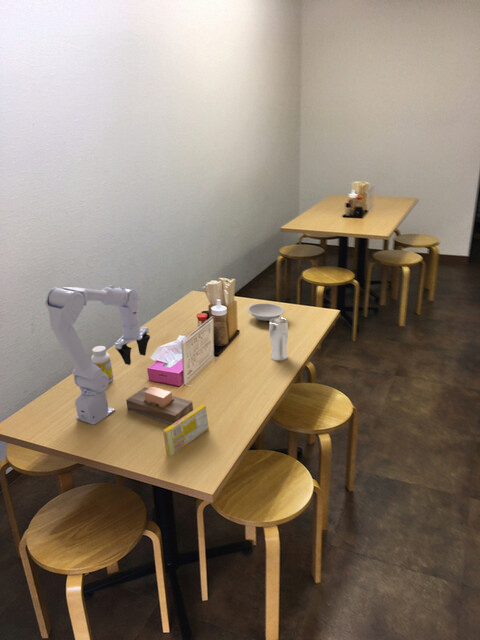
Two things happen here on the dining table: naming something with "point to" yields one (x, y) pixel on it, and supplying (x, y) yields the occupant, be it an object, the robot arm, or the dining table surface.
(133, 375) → the dining table surface
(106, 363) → the supplement bottle
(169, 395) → the peach arch block
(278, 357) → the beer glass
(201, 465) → the dining table surface
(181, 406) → the slot base
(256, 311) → the dish
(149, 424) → the dining table surface
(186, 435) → the candy box
